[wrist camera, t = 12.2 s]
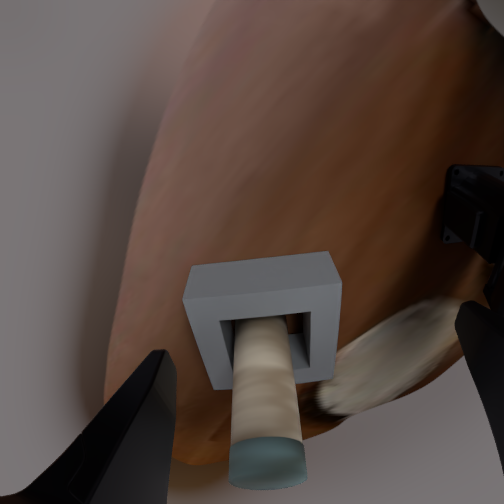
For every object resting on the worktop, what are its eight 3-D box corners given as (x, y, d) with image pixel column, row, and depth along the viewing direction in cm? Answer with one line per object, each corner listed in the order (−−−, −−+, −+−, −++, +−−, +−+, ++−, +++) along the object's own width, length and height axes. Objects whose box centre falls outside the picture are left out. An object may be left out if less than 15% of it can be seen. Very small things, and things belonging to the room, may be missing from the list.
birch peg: (295, 309, 24) (323, 475, 12) (263, 338, 26) (271, 492, 14) (256, 285, 23) (263, 466, 11) (225, 316, 25) (213, 482, 12)
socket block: (328, 251, 22) (342, 282, 18) (324, 344, 26) (332, 378, 23) (191, 265, 22) (182, 299, 19) (217, 355, 27) (214, 389, 23)
